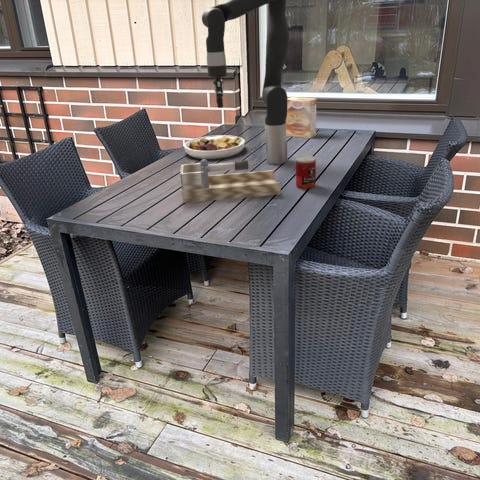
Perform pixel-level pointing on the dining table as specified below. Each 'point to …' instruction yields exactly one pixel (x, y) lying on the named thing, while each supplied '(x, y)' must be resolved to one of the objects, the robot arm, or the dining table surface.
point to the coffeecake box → (301, 117)
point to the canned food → (305, 172)
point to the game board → (225, 184)
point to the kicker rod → (222, 168)
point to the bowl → (214, 146)
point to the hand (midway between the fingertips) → (219, 105)
